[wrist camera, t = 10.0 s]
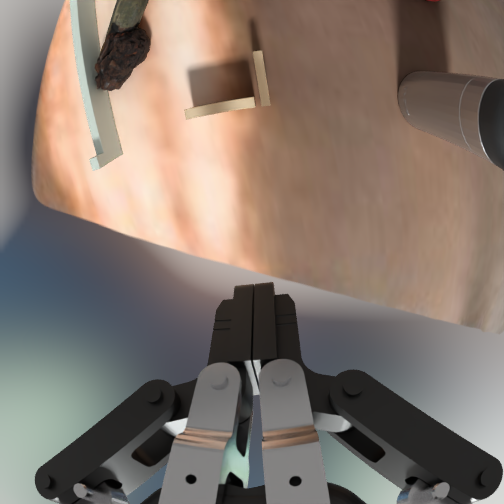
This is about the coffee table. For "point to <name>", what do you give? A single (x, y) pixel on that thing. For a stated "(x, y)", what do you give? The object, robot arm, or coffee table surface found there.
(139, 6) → the dark elongated piece
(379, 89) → the coffee table surface
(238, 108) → the socket block
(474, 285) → the coffee table surface
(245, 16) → the coffee table surface
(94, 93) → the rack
